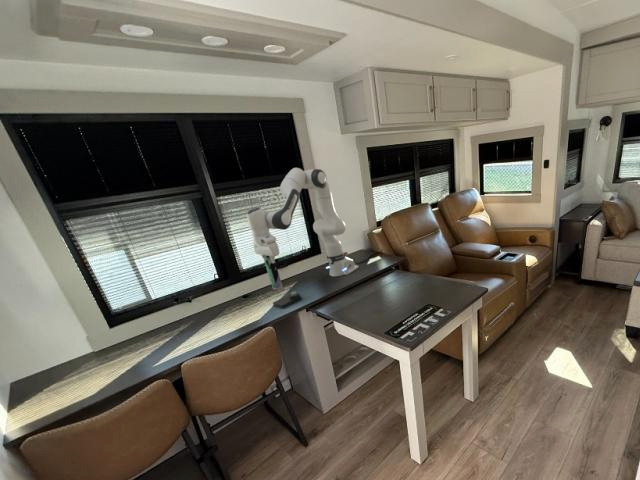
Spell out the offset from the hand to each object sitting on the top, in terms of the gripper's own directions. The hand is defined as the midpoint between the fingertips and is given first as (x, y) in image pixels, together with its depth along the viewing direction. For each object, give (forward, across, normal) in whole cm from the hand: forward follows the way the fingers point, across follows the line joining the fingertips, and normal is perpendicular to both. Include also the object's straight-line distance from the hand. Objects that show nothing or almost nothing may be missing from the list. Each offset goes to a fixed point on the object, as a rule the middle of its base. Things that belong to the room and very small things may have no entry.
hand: (270, 262), depth 177 cm
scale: (+26, +2, +2) cm, 26 cm away
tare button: (+23, +4, +6) cm, 24 cm away
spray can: (+16, 0, 0) cm, 16 cm away
